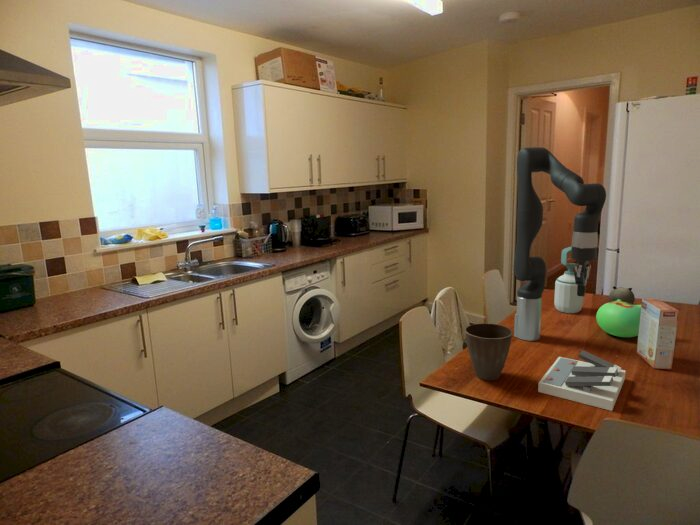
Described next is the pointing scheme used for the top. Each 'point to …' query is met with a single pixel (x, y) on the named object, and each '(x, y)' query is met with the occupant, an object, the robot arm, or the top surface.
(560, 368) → the switch unit
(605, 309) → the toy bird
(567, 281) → the soap bottle
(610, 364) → the block
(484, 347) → the plant pot
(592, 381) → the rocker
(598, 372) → the rocker
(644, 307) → the cracker box
